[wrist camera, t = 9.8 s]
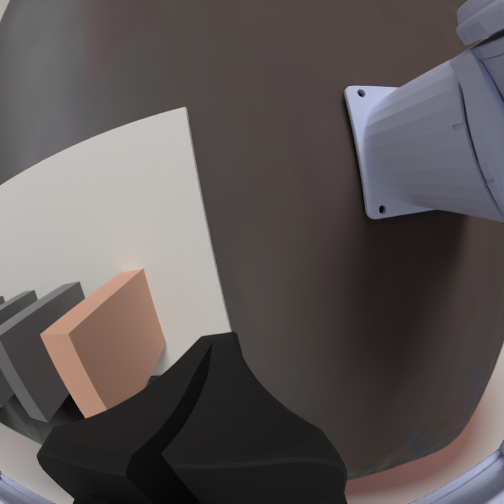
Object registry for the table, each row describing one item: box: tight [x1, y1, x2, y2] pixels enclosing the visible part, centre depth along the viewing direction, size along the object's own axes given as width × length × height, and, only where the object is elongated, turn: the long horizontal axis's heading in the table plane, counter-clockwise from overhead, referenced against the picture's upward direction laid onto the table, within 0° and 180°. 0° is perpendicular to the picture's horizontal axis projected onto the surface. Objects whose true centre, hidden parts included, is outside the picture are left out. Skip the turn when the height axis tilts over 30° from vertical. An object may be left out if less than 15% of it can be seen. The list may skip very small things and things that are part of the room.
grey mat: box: [0, 107, 232, 376], centre depth 15 cm, size 28×16×1 cm, turn 100°
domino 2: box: [0, 281, 85, 422], centre depth 12 cm, size 2×5×8 cm, turn 10°
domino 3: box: [40, 268, 166, 418], centre depth 12 cm, size 2×5×8 cm, turn 10°
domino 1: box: [0, 290, 38, 407], centre depth 12 cm, size 2×5×8 cm, turn 11°
